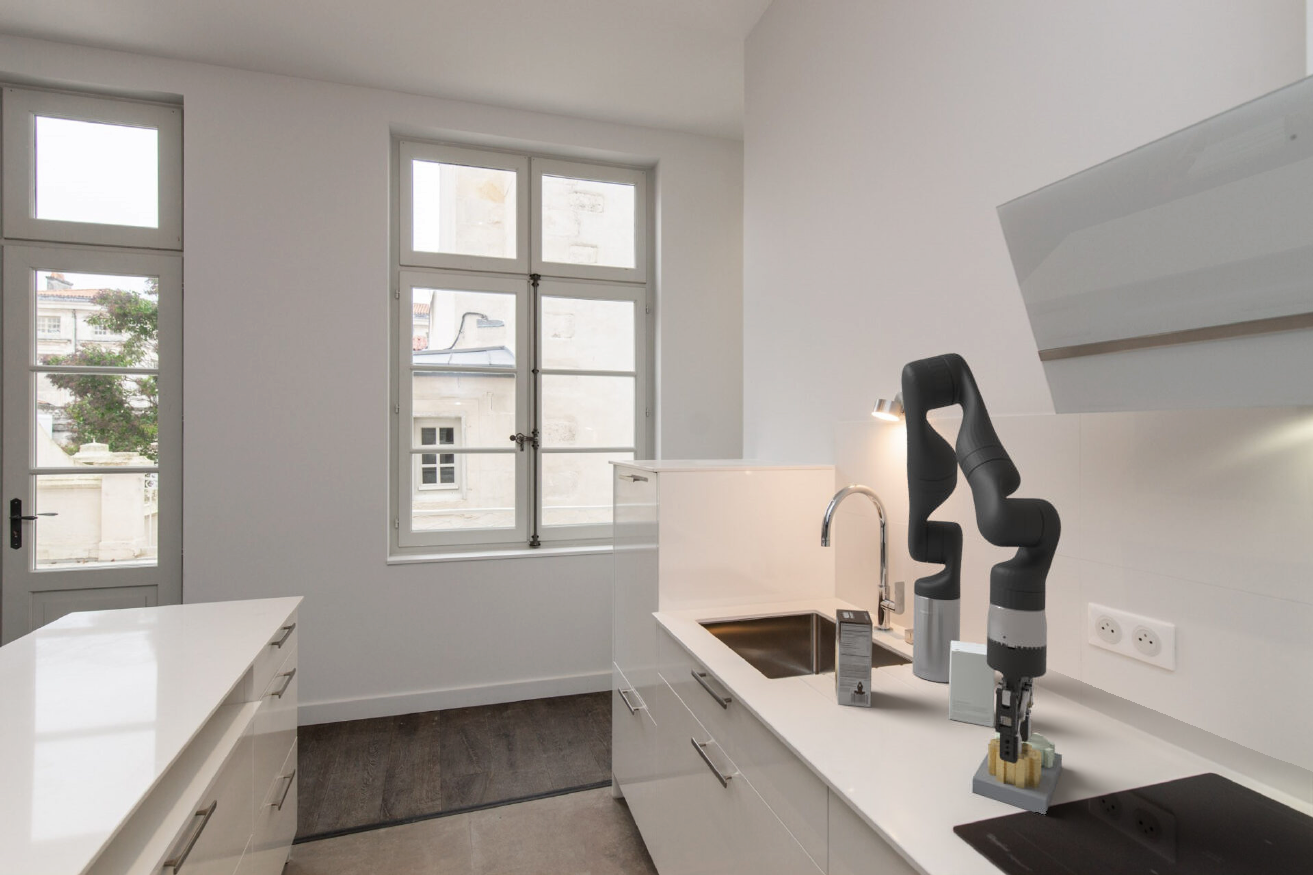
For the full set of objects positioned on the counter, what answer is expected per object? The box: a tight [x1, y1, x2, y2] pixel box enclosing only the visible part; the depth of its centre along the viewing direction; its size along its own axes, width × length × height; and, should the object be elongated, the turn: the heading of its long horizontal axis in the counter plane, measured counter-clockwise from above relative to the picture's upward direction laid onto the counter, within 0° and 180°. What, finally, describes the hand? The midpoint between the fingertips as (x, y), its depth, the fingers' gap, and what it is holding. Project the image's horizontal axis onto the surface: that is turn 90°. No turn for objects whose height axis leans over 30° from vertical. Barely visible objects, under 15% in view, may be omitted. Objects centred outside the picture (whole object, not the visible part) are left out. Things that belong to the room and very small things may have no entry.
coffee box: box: [834, 608, 874, 708], centre depth 127 cm, size 9×6×16 cm
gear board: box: [971, 715, 1063, 815], centre depth 96 cm, size 17×9×8 cm, turn 142°
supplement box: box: [948, 640, 996, 728], centre depth 119 cm, size 7×7×13 cm
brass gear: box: [987, 738, 1041, 789], centre depth 93 cm, size 6×6×4 cm
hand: (1014, 749), depth 93 cm, fingers open, 8 cm apart
